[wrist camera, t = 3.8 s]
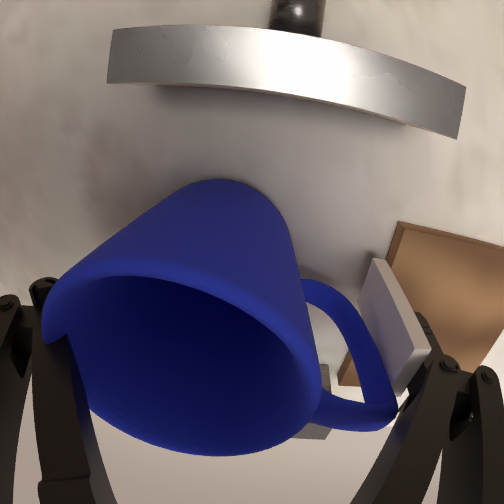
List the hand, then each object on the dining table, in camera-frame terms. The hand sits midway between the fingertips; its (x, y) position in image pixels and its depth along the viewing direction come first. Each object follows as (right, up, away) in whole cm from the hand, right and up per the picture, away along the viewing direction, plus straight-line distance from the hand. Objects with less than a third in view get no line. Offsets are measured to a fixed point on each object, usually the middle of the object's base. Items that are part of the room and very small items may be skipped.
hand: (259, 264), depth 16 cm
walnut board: (+12, -4, +2) cm, 13 cm away
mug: (0, +1, +1) cm, 1 cm away
